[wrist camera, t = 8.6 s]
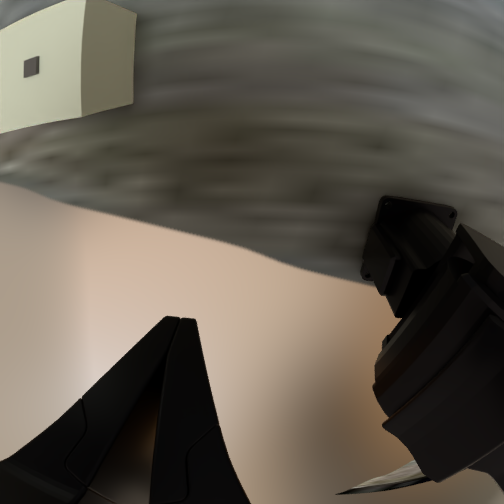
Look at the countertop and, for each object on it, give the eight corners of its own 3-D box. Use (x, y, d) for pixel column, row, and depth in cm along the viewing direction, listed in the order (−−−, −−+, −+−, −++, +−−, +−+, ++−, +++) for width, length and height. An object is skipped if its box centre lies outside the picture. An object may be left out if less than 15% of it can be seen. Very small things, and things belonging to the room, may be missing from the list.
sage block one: (137, 14, 12) (84, -8, 7) (133, 103, 15) (78, 117, 10) (56, 34, 12) (-8, 33, 7) (55, 114, 15) (-7, 135, 10)
